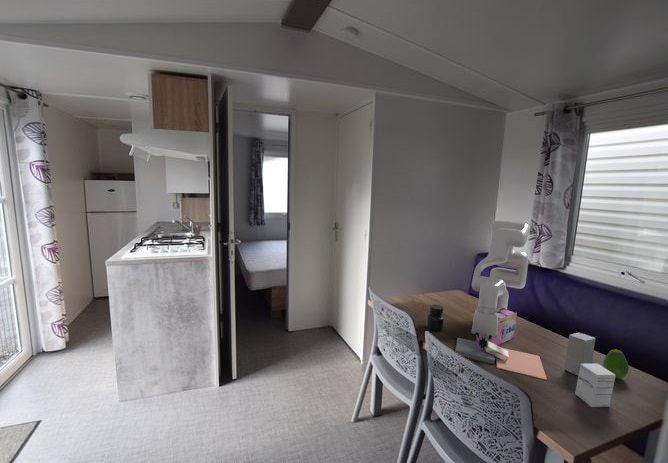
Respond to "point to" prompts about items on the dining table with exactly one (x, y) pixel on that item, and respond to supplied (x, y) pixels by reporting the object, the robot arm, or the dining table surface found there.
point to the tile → (497, 351)
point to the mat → (522, 364)
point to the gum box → (503, 327)
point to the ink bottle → (435, 318)
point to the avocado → (616, 363)
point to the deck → (473, 350)
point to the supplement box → (595, 385)
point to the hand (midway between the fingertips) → (482, 347)
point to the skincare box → (579, 352)
